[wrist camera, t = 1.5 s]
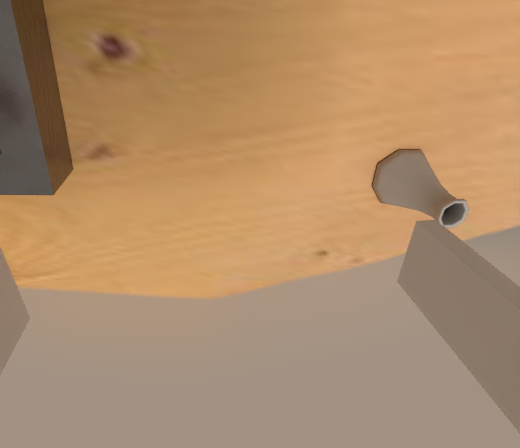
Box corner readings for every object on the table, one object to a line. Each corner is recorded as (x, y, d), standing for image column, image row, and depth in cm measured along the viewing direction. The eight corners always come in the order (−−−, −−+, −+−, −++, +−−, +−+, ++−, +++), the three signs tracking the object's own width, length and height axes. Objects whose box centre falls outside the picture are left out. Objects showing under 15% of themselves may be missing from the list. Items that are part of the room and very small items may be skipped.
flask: (373, 209, 43) (419, 254, 35) (369, 158, 39) (419, 194, 31) (426, 192, 44) (484, 233, 35) (427, 139, 40) (492, 170, 31)
